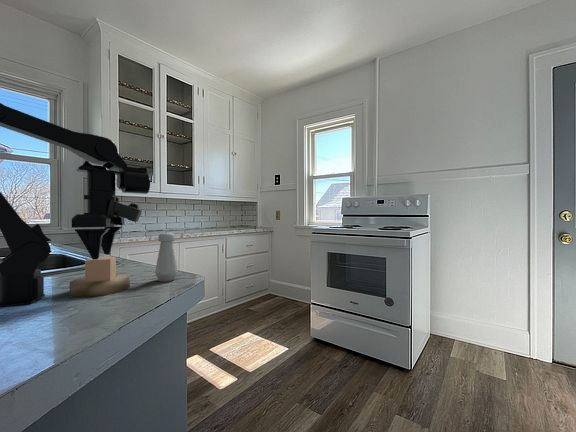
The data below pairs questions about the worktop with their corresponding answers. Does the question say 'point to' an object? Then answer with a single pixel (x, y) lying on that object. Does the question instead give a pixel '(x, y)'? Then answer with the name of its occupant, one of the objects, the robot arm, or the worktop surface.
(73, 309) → the worktop surface
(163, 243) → the salt shaker
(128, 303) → the worktop surface
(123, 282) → the walnut base
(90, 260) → the terracotta block
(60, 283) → the worktop surface
